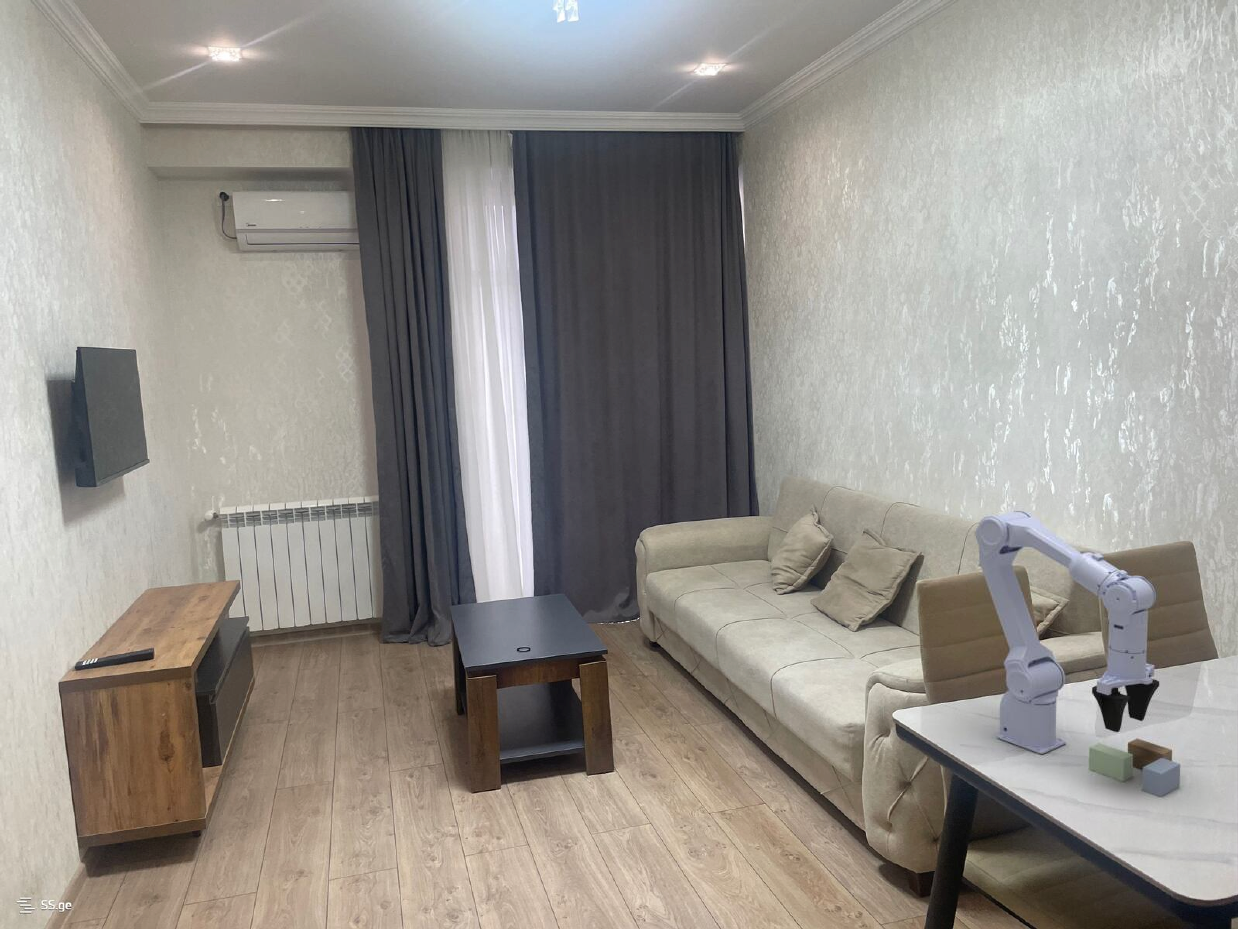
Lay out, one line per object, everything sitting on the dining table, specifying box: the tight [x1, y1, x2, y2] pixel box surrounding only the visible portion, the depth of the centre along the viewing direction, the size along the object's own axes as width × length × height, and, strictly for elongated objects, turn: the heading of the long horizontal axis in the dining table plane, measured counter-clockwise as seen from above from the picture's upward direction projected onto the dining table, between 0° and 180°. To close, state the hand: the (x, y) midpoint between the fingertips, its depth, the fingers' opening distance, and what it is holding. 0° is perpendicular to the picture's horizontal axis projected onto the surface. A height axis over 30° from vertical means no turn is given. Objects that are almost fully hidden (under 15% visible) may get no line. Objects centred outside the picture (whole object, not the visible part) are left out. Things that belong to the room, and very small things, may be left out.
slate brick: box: [1141, 758, 1181, 798], centre depth 150 cm, size 6×3×4 cm, turn 122°
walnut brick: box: [1127, 738, 1173, 770], centre depth 158 cm, size 6×3×4 cm, turn 32°
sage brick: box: [1088, 742, 1134, 782], centre depth 157 cm, size 6×3×4 cm, turn 32°
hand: (1124, 724), depth 154 cm, fingers open, 7 cm apart
